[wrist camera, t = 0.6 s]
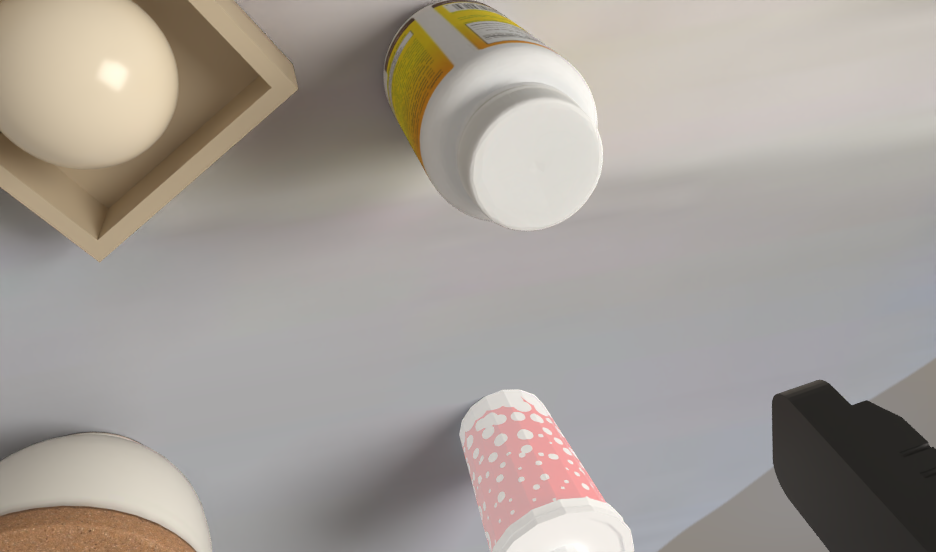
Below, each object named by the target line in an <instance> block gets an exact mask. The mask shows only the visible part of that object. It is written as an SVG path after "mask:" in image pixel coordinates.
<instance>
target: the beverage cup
mask: <svg viewBox="0 0 936 552" xmlns="http://www.w3.org/2000/svg"><path fill="white" fill-rule="evenodd" d="M459 436H460V439H461V443H462V447H463V451H464V455H465V458H466V462H467V466H468V470H469V473H470V477H471V481H472V485H473V488H474V492H475V496H476V500H477V504H478V507H479V511H480V515H481V519H482V522H483V526H484V530H485V534H486V537H487V541H488V545H489V549H490V552H634V545H633V540H632V534H631V530H630V529H629V527H628V526H627V525H626V524H625V523H624V521H623V518H622V516H621V515H620V514H619V513H618V512H617V511H616V510H615V509H614V508H613V507H612V506H611V505H610V504H608V503H606V502H605V500H604V498H603V497H602V495H601V494H600V492H599V491H598V489H597V487H596V486H595V484H594V483H593V481H592V480H591V478H590V476H589V475H588V473H587V472H586V470H585V469H584V467H583V465H582V464H581V462H580V461H579V459H578V458H577V456H576V454H575V453H574V451H573V450H572V448H571V447H570V445H569V444H568V442H567V440H566V439H565V437H564V436H563V434H562V433H561V431H560V429H559V428H558V426H557V425H556V423H555V422H554V420H553V418H552V417H551V415H550V414H549V412H548V411H547V409H546V407H545V406H544V404H543V403H542V402H541V401H540V400H539V399H538V398H537V397H536V396H535V395H534V394H531V393H528V392H525V391H522V390H501V391H498V392H496V393H493V394H490V395H487V396H485V397H484V398H482V399H481V400H480V401H478V402H477V403H476V404H474V405H473V406H472V407H471V408H470V409H469V411H468V412H467V414H466V415H465V417H464V418H463V420H462V423H461V428H460V434H459Z"/></svg>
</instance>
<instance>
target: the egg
mask: <svg viewBox="0 0 936 552" xmlns="http://www.w3.org/2000/svg"><path fill="white" fill-rule="evenodd" d="M178 89H179V79H178V69H177V65H176V61H175V57H174V54H173V52H172V49H171V47H170V45H169V43H168V41H167V39H166V37H165V35H164V34H163V32H162V31H161V30H160V28H159V27H158V25H157V24H156V23H155V21H154V20H153V19H152V18H151V17H150V16H149V15H148V14H147V13H146V12H145V11H144V10H143V9H142V8H141V7H139V6H138V5H137V4H136V3H134V2H133V1H131V0H3V1H2V2H1V3H0V131H1V132H2V133H3V134H4V135H5V136H6V137H7V138H8V139H9V140H10V141H11V142H13V143H14V144H15V145H16V146H18V147H19V148H21V149H22V150H23V151H25V152H27V153H29V154H30V155H32V156H34V157H36V158H38V159H40V160H43V161H45V162H48V163H51V164H54V165H57V166H61V167H66V168H71V169H82V170H88V169H101V168H108V167H112V166H116V165H119V164H122V163H125V162H127V161H130V160H132V159H134V158H135V157H137V156H139V155H141V154H142V153H143V152H145V151H146V150H147V149H149V148H150V147H151V146H152V145H153V144H154V143H155V142H156V141H157V140H158V139H159V138H160V137H161V135H162V134H163V133H164V131H165V130H166V128H167V126H168V125H169V123H170V121H171V119H172V117H173V114H174V111H175V108H176V105H177V99H178Z"/></svg>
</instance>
